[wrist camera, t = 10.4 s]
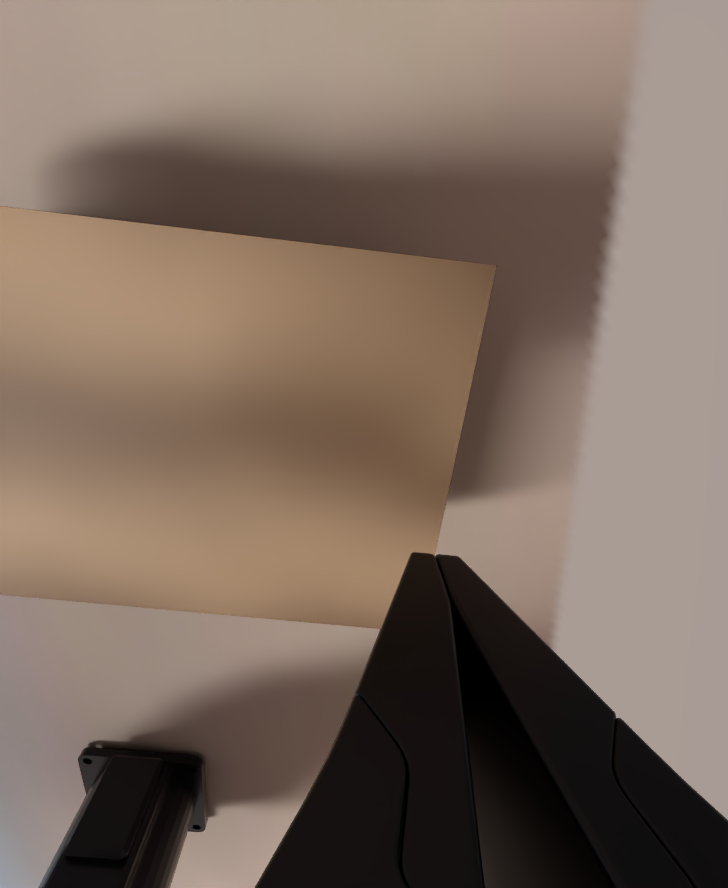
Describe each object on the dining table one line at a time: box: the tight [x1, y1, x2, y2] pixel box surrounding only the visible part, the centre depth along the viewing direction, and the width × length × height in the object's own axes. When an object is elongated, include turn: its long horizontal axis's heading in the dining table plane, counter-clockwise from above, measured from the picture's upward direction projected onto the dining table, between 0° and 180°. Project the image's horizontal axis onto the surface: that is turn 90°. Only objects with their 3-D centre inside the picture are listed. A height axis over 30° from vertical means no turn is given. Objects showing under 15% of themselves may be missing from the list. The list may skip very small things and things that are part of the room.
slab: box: [0, 206, 497, 629], centre depth 12 cm, size 10×14×2 cm
